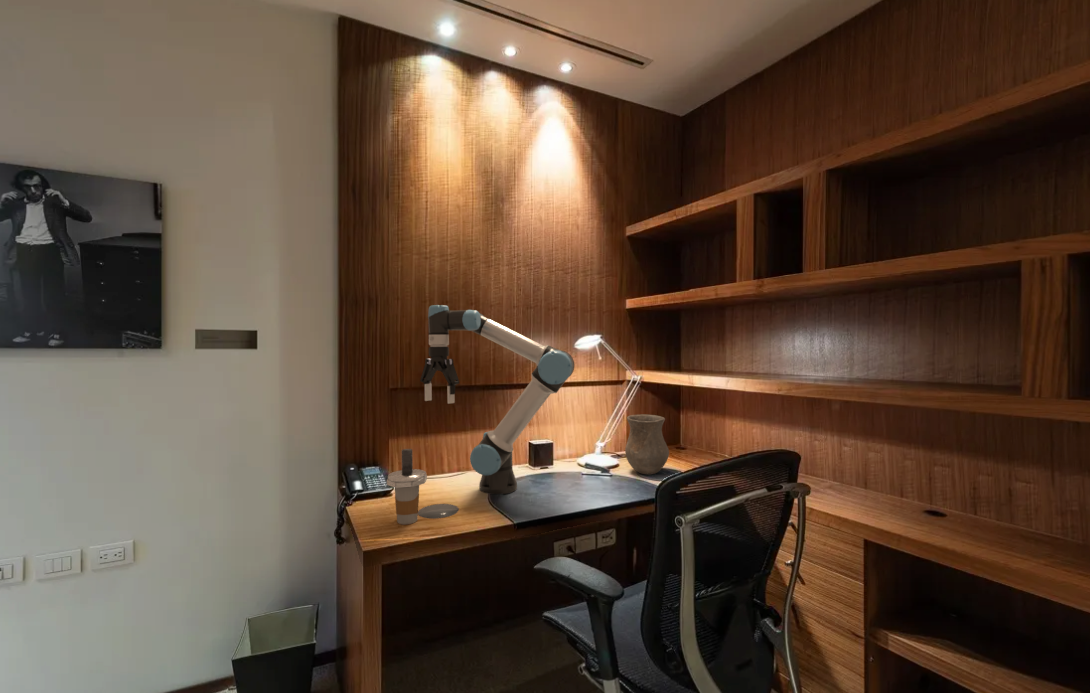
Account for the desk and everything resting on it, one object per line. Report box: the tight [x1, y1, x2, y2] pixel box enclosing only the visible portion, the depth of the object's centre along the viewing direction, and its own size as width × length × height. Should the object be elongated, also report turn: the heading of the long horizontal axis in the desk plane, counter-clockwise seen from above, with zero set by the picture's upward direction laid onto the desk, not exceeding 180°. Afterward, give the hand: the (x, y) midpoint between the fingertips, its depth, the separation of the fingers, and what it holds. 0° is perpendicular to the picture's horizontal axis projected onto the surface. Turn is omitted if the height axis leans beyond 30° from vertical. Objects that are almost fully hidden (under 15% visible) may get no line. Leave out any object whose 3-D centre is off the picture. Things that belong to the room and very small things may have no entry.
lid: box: [386, 448, 428, 489], centre depth 152 cm, size 12×12×10 cm
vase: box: [624, 414, 670, 475], centre depth 208 cm, size 20×19×25 cm
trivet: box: [418, 503, 460, 520], centre depth 161 cm, size 14×14×1 cm
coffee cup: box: [394, 485, 420, 525], centre depth 153 cm, size 8×8×15 cm
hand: (439, 401), depth 176 cm, fingers open, 13 cm apart
